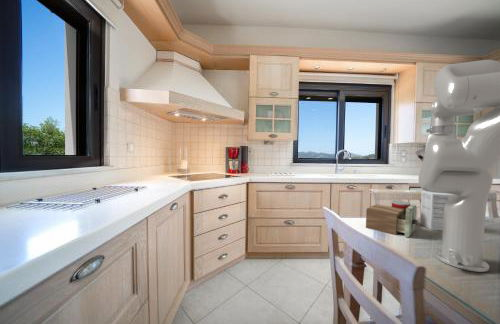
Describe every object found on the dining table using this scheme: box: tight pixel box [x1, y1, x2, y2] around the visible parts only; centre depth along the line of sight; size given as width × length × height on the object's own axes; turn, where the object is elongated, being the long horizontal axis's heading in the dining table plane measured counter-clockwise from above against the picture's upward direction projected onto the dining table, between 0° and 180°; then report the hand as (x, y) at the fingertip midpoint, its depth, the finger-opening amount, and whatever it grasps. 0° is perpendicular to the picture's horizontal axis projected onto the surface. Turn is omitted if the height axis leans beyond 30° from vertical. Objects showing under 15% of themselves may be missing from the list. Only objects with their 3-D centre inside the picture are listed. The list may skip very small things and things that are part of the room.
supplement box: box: [419, 190, 455, 232], centre depth 104 cm, size 10×9×17 cm
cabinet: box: [365, 203, 404, 236], centre depth 102 cm, size 14×12×9 cm
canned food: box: [391, 199, 411, 215], centre depth 108 cm, size 8×8×11 cm
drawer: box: [397, 203, 419, 238], centre depth 98 cm, size 14×14×12 cm
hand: (439, 171), depth 93 cm, fingers open, 9 cm apart
